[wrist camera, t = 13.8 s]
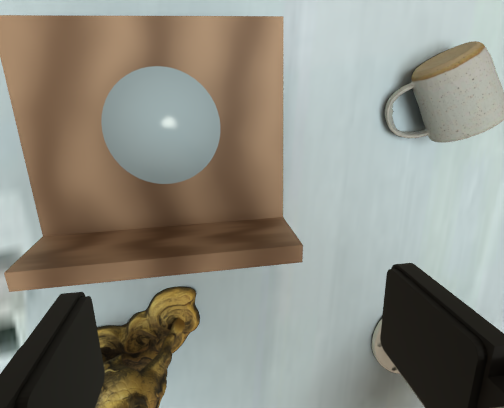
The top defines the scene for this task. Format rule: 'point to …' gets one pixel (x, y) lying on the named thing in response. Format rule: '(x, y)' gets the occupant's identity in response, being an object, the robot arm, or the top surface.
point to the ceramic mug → (454, 94)
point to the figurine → (145, 350)
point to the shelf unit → (127, 185)
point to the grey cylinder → (160, 125)
